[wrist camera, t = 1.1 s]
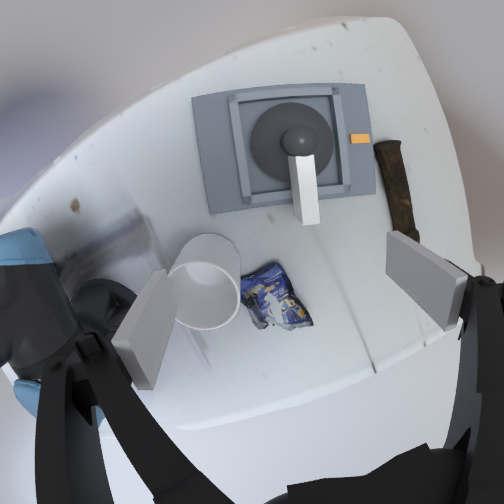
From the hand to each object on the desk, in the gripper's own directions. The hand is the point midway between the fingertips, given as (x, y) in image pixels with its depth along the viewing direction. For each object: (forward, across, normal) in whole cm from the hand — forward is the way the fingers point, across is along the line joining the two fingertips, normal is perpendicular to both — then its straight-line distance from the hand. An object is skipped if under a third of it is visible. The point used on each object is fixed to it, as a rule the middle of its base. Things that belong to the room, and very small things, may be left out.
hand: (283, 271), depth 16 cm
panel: (+22, +5, +7) cm, 24 cm away
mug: (+23, -9, -8) cm, 26 cm away
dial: (+20, +5, +5) cm, 21 cm away
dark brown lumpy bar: (+23, +21, -3) cm, 31 cm away
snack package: (+23, 0, -15) cm, 27 cm away
